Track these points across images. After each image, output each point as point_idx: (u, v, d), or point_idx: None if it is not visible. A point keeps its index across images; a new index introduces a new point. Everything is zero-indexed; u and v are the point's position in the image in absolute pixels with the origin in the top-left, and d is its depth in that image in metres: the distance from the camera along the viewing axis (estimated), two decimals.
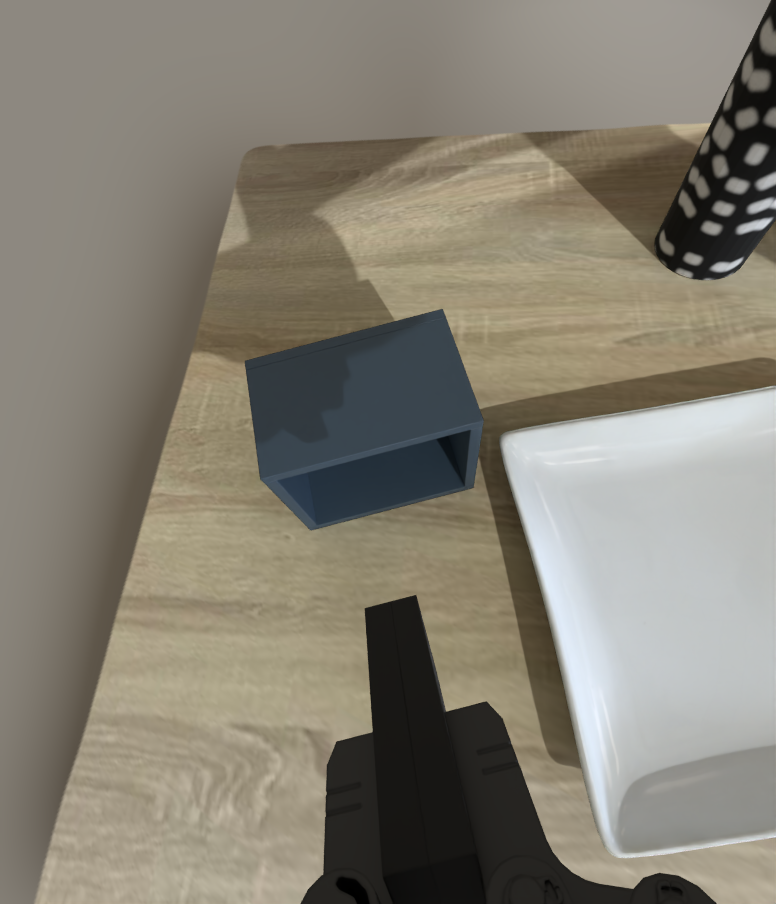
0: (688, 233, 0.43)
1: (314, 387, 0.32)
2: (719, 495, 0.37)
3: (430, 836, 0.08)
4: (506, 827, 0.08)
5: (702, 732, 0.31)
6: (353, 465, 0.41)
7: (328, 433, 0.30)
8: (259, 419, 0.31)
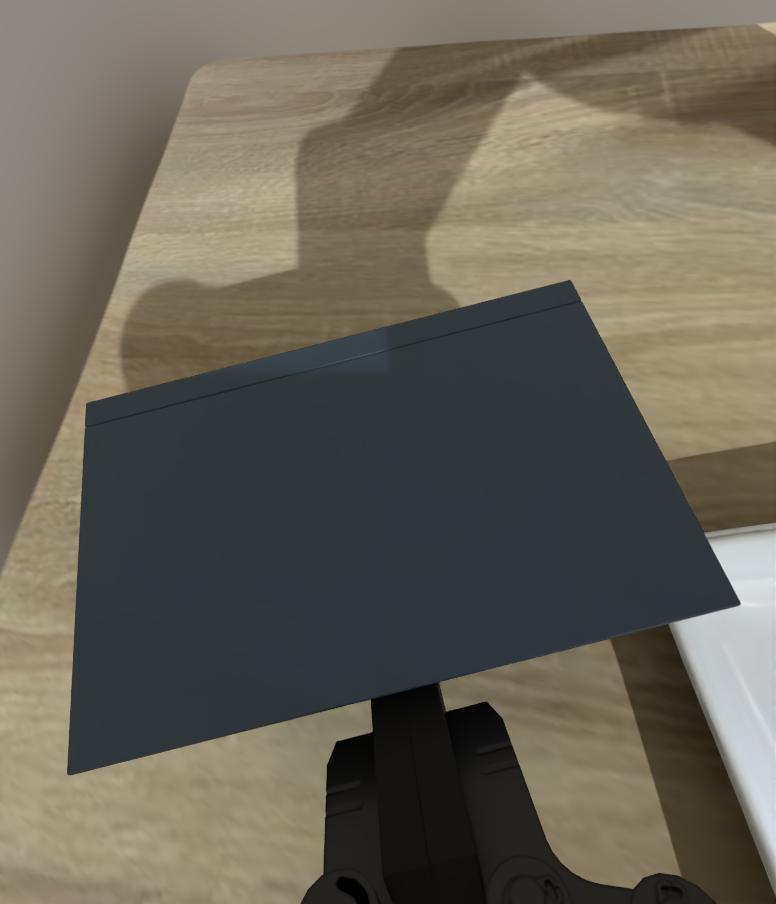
0: None
1: (248, 479, 0.12)
2: None
3: (430, 836, 0.08)
4: (506, 827, 0.08)
5: None
6: None
7: (276, 625, 0.11)
8: (95, 568, 0.12)
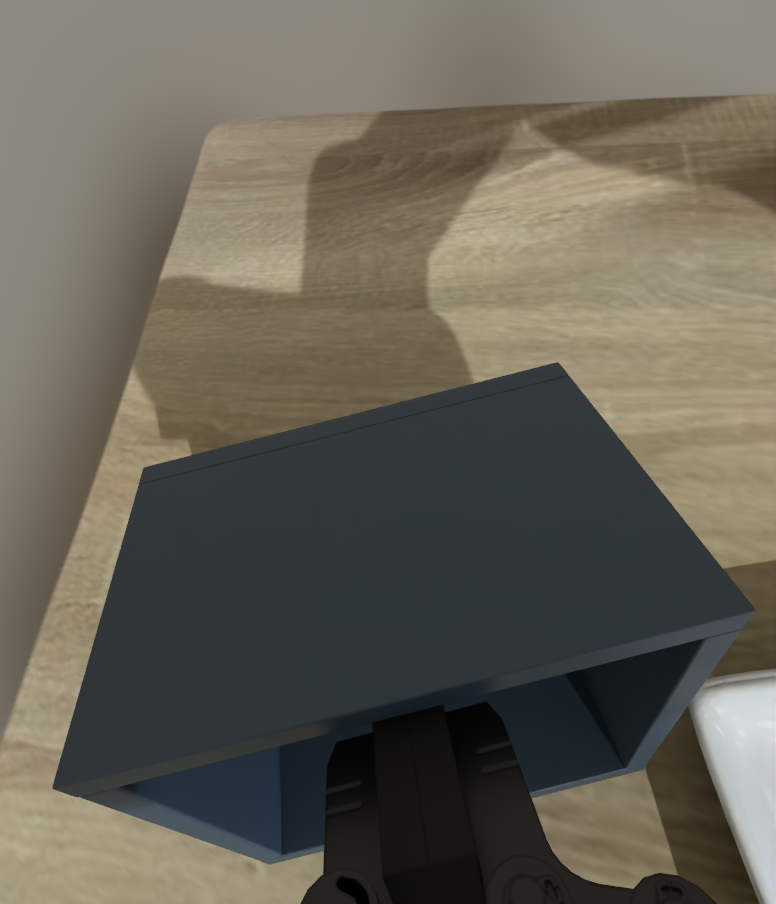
0: None
1: (270, 517, 0.13)
2: None
3: (430, 836, 0.08)
4: (506, 827, 0.08)
5: None
6: None
7: (281, 639, 0.11)
8: (123, 594, 0.12)
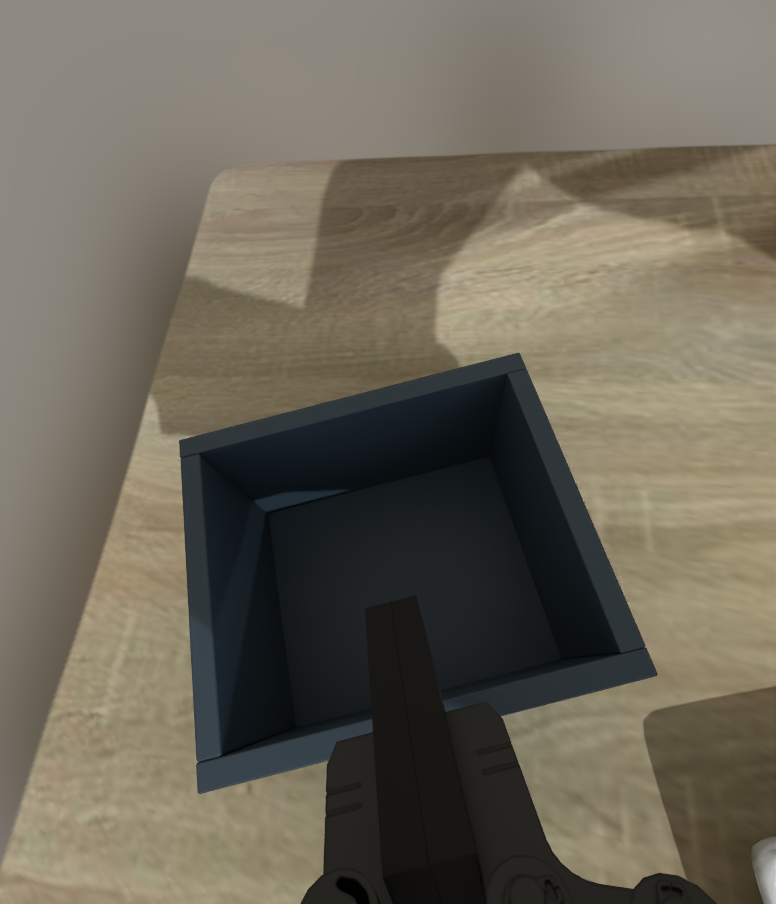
0: None
1: None
2: None
3: (430, 836, 0.08)
4: (506, 827, 0.08)
5: None
6: (369, 712, 0.19)
7: None
8: None
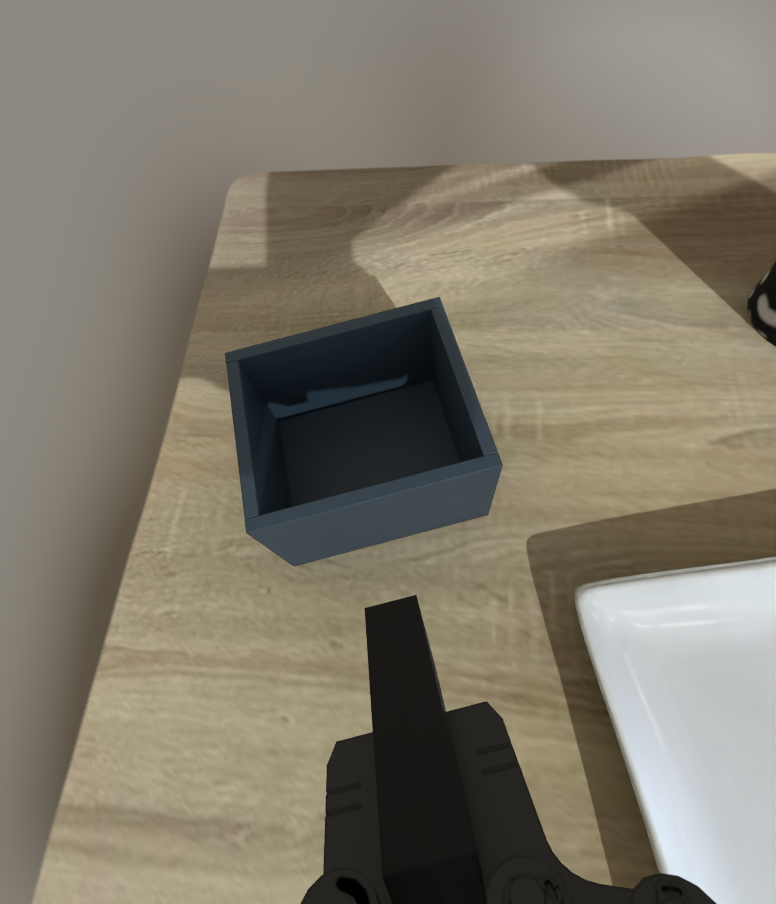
0: None
1: None
2: None
3: (430, 836, 0.08)
4: (506, 827, 0.08)
5: None
6: None
7: None
8: None
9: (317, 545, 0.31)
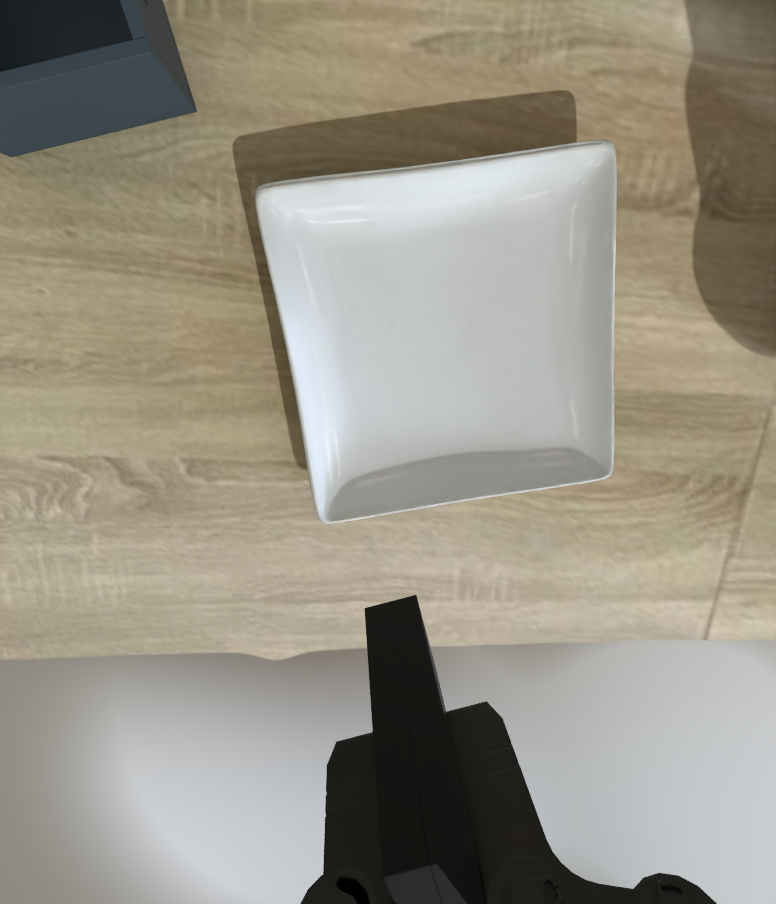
0: None
1: None
2: (465, 264, 0.40)
3: (430, 836, 0.08)
4: (506, 827, 0.08)
5: (401, 449, 0.44)
6: None
7: None
8: None
9: (15, 134, 0.32)
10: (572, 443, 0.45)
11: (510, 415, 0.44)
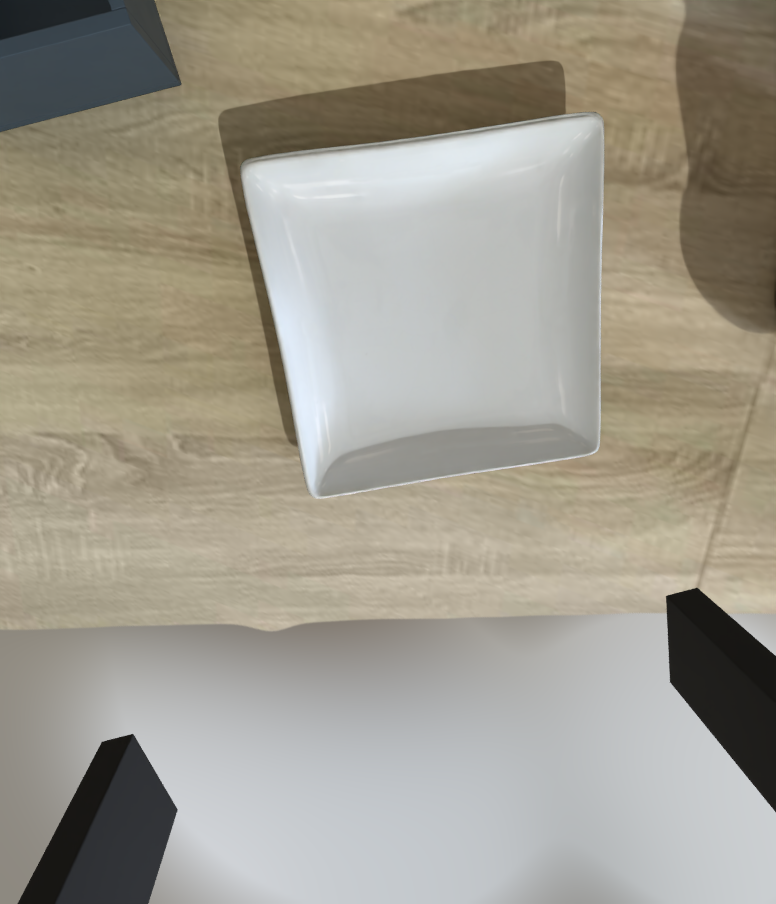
0: None
1: None
2: (452, 239, 0.40)
3: None
4: None
5: (390, 426, 0.45)
6: None
7: None
8: None
9: None
10: (560, 419, 0.45)
11: (498, 392, 0.44)
